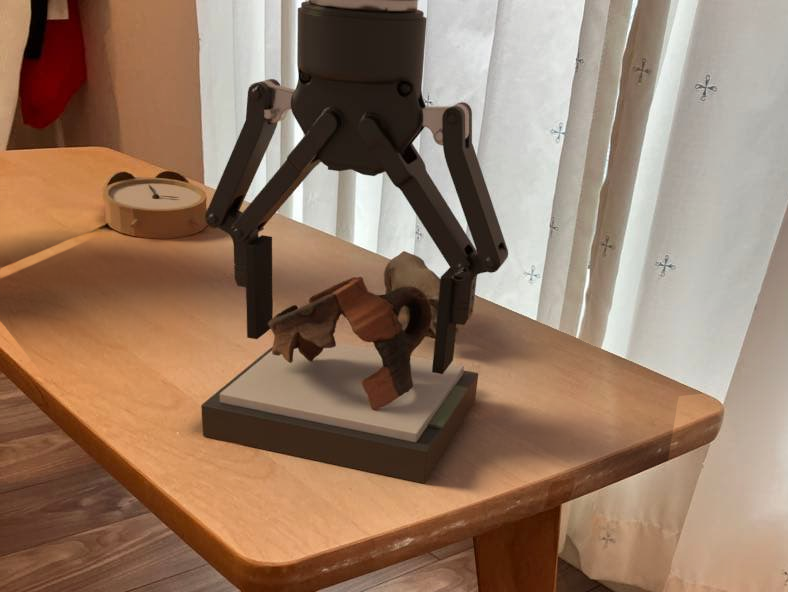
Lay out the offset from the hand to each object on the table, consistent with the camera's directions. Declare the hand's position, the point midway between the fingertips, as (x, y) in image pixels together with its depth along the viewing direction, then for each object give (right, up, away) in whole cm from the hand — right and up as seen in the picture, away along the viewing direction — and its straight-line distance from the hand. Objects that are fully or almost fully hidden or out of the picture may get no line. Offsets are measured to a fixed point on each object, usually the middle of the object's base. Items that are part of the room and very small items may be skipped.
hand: (349, 349), depth 66 cm
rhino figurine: (+5, +5, +18) cm, 20 cm away
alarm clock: (-25, +23, +43) cm, 55 cm away
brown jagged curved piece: (0, -2, +1) cm, 2 cm away
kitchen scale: (0, -4, +3) cm, 5 cm away
